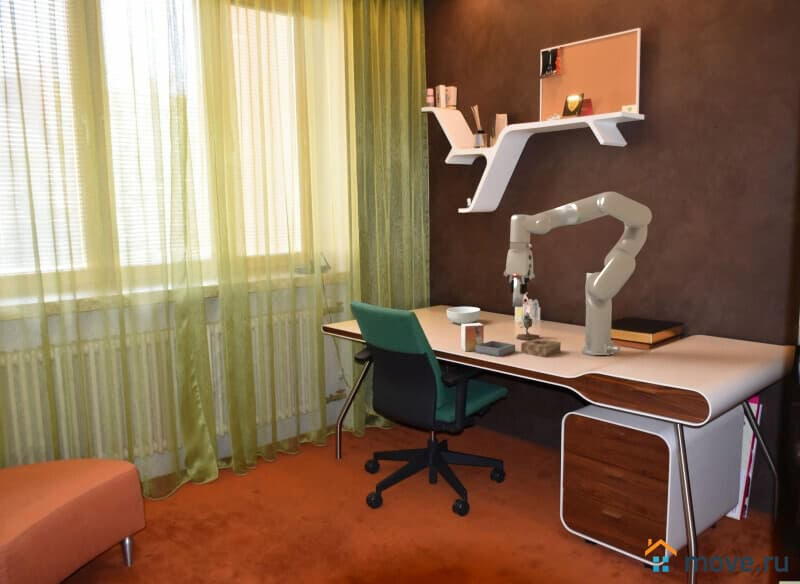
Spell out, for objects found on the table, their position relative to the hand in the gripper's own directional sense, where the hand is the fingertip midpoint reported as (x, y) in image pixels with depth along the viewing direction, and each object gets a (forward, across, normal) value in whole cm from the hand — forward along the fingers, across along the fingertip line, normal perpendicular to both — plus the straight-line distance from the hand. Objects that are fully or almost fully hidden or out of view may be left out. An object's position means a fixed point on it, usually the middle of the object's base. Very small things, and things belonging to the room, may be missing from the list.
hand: (518, 292), depth 255 cm
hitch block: (+24, -8, -6) cm, 26 cm away
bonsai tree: (+24, +12, -26) cm, 37 cm away
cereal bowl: (+25, +55, -36) cm, 71 cm away
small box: (+25, +16, +7) cm, 30 cm away
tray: (+24, +6, +5) cm, 25 cm away
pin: (+5, 0, 0) cm, 5 cm away
